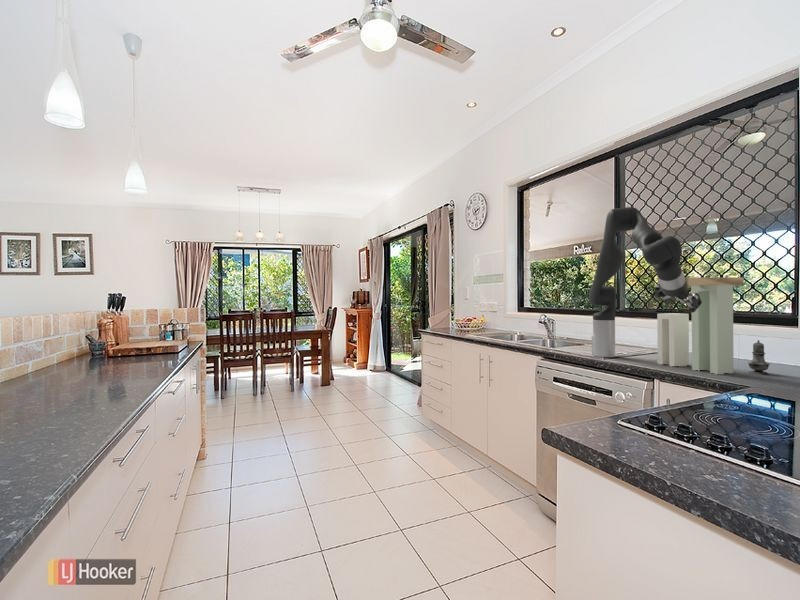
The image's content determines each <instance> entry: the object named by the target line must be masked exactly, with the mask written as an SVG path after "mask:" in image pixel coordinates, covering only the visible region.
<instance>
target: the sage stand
mask: <svg viewBox="0 0 800 600" xmlns="http://www.w3.org/2000/svg"><path fill="white" fill-rule="evenodd" d="M690 287H691V288H690V292H691V293H690V294H695V293H698V294H699V296H700V299H701V301H702V303H701V305H700V306H699V307H698V308H697V309H696V311H695V312H693V313H692V312H691V370H692V371H694V370H698V371H697V372H701V371H700V370H707V371H709V372H710V373H709V374H711V373H715V374H714V375H717V374H719V375H725V374H724V373H729V374H734V372H735V371H734V362H735V361H734V286H733V285H714V286H690ZM691 303H692V302H691V301H690V304H691Z"/></svg>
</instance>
